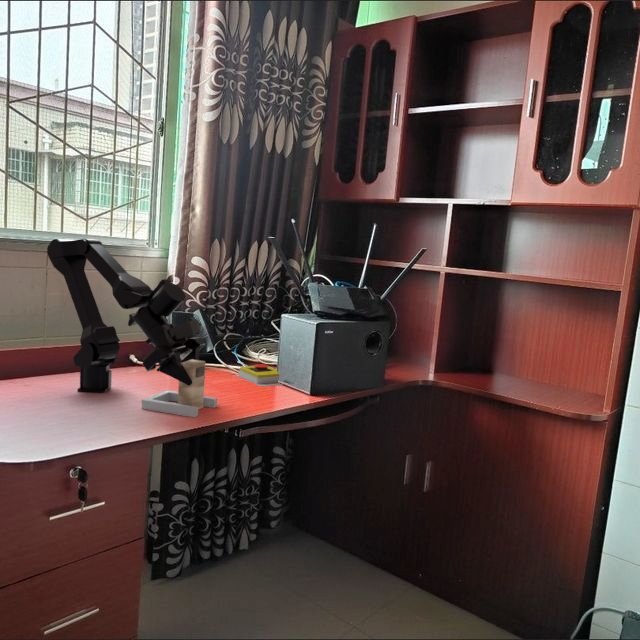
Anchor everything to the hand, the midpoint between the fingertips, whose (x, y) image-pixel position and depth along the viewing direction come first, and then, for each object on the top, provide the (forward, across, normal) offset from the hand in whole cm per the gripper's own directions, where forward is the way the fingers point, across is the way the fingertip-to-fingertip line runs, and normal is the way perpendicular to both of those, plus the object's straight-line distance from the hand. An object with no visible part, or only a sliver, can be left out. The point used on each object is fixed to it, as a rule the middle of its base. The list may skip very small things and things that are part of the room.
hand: (197, 381), depth 140 cm
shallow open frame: (+2, 0, +8) cm, 8 cm away
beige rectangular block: (+4, 0, +6) cm, 7 cm away
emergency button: (+5, +37, +5) cm, 38 cm away
